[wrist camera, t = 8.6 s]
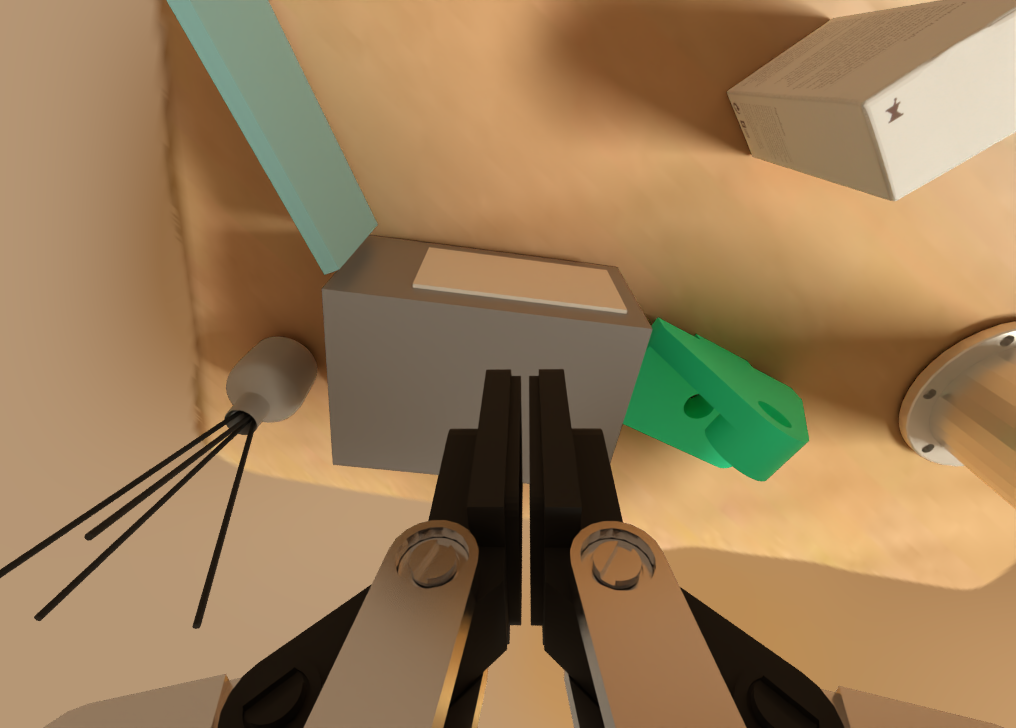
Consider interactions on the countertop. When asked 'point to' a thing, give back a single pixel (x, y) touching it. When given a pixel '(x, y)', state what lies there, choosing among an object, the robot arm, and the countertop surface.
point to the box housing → (468, 345)
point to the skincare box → (886, 95)
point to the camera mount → (714, 405)
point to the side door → (280, 121)
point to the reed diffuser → (256, 398)
